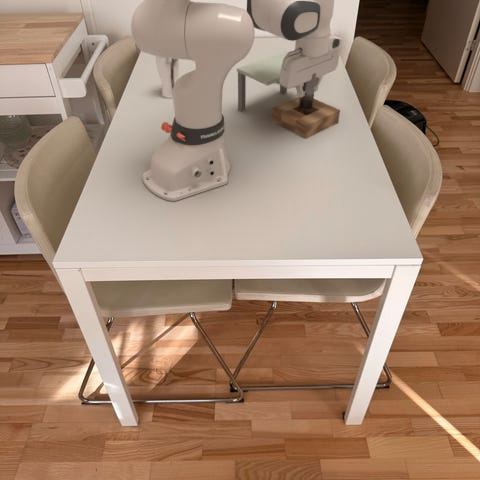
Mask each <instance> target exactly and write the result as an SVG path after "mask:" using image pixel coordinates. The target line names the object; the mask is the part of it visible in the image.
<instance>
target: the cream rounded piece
mask: <svg viewBox="0 0 480 480" xmlns="http://www.w3.org/2000/svg"><path fill="white" fill-rule="evenodd" d="M179 60H180V59H172V58H161V57H158V56H155V64H156V68H157V73H158V75H159V78H160V82H161V96H162V97H164V98H165V99H166V98H167V99H173V93H172V91H173V86H174V84H175V82H176V81H177V80H178V79H179V71H180V70H179V68H180V63H179V62H180V61H179Z"/></svg>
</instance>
